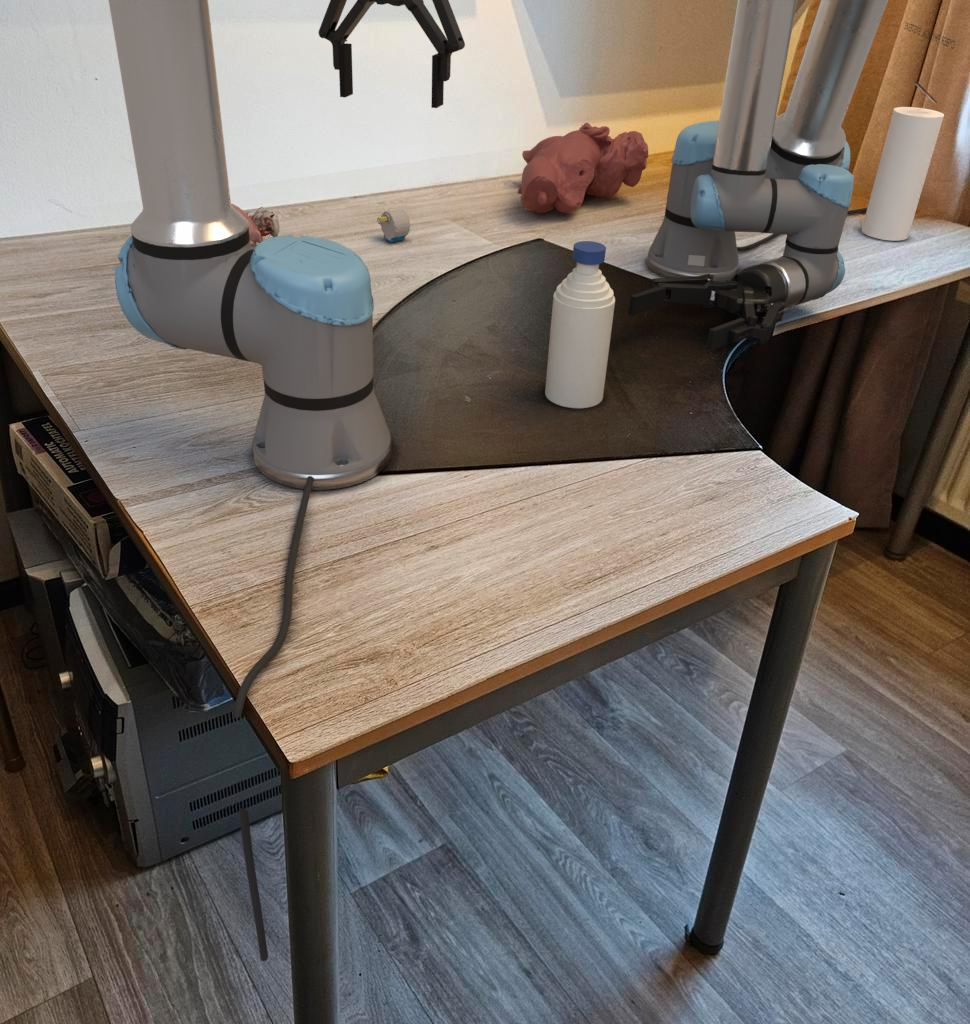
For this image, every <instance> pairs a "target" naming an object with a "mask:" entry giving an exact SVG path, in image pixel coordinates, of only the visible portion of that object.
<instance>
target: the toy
mask: <svg viewBox="0 0 970 1024" xmlns="http://www.w3.org/2000/svg"><path fill="white" fill-rule="evenodd" d="M231 205H232V206H233V207H234V208H235V209H236V210H237V211H238V212H240V213H241V214H242V215H243V216H244V217H246V219H247V220H248V226H249V236H250V244H251V247H252V248H255V247H256V246H257V245H258V244H259V243H261V242H262V241H264V237H267V236H269V235H270V236H272V237H277V236H279V234H280V231H281V225H280V221H279V218H278V217H274V216H276V215H275V213H274V212H273V211H269V210H268V209H265V208H264V207H263V206H261V207H259V208H258V209H257V210H256V211H255V212H254V214H251V215H249V211H246V212H245V210H243V209H242V208H240V207H239V205H235V204H233V203H231ZM257 243H258V244H257Z"/></svg>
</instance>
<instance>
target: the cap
mask: <svg viewBox="0 0 970 1024" xmlns="http://www.w3.org/2000/svg"><path fill="white" fill-rule="evenodd" d="M606 250H607V247H606V245H605V244H603V243H601V242H597V241H592V240H591V241H590V240H583V241H577V242H575V243H574V244H573V247H572V260H573V261H574V262H576V263H577V262H578V263H581V264H585V265H598V264H599V265H601V264H603V263H604V262H605V259H606V253H607V251H606Z"/></svg>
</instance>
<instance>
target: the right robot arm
mask: <svg viewBox="0 0 970 1024" xmlns="http://www.w3.org/2000/svg"><path fill="white" fill-rule="evenodd" d="M888 3H889V0H820V2H819V5H818V8H817V12H816V14H815V17H814V21H813V24H812V27H811V31H810V33H809V37H808V40H807V42H806V46H805V48H804V49H805V50H804V52H803V55H802V59H801V61H800V65H799V68H798V71H797V74H796V77H795V80H794V83H793V87H792V90H791V93H790V96H789V100H788V102H787V105H786V107H785V108H786V109H785V112H783V113H781V114H779V115H778V114H777V113H778V109H779V103H780V97H781V92H782V86H783V81H784V76H785V72H786V71H785V70H786V64H787V59H788V53H789V48H790V43H791V38H792V32H793V28H794V27H793V26H794V20H795V15H796V11H797V5H798V0H737V5H736V9H735V17H734V24H733V30H732V36H731V42H730V49H729V55H728V62H727V67H726V74H725V75H726V76H725V80H724V81H725V82H724V88H723V95H722V100H721V107H720V112H719V113H720V114H719V119H718V120H709V121H702V122H697V123H693V124H690V125H688V126H686V127H684V128H683V129H682V130H681V131H680V132H679V134H678V135H677V137H676V141H675V144H674V145H675V146H674V149H673V154H672V157H671V169H670V177H669V182H668V183H669V184H668V191H667V198H666V203H665V210H664V216H663V220H662V222H661V224H660V226H659V229H658V231H657V232H656V235H655V236H654V239H653V240H652V243H651V245H650V247H649V249H648V252H647V258H646V265H647V267H648V269H650V270H651V272H653V273H655V274H657V275H659V276H662V277H654V278H651V281H650V288H649V289H646V290H643V291H642V292H637V293H635V294H632V295H630V297H629V298H630V299H629V305H628V306H629V307H628V313H627V315H629V316H630V317H633V316H637V315H640V314H644V313H647V312H650V311H652V310H656V309H659V308H662V307H664V304H667V303H668V304H686V305H703V306H704V308H706V309H721V310H722V311H727V312H728V313H731V314H738V317H739V318H735V319H734V320H731V321H728V322H726V323H723V324H720V325H718V326H715V327H712V328H709V330H708V335H707V339H706V341H707V342H706V346H705V350H708V351H710V352H711V351H713V350H714V351H715V350H716V349H719V348H722V347H724V346H727V345H730V344H732V343H739V342H741V341H744V340H746V341H752V340H754V339H756V340H757V343H759V344H762V345H764V344H765V345H766V344H767V343H768V341H769V339H770V337H771V336H772V333H773V330H774V328H775V326H776V325H777V324H778V323H781V322H782V321H783V318H784V313H785V310H787V309H791V308H793V307H796V306H799V305H802V304H805V303H807V302H811V301H815V300H818V299H821V298H823V297H824V296H826V295H827V294H829V293H831V292H833V291H834V290H836V289H837V288H838V287H839V286H840V285H841V284H842V282H843V280H844V277H845V273H846V267H845V261H844V257H843V255H842V253H841V252H840V251H839V245H840V242H841V238H842V234H843V231H844V226H845V223H846V220H847V216H848V215H854V214H859V213H866V211H867V208H868V206H866V207H862V208H857V209H855V208H854V209H851V210H850V207H851V200H852V196H853V191H854V183H855V178H854V175H853V174H852V173H851V172H850V171H849V169H850V164H851V149H850V144H849V143H848V141H847V136H846V132H845V130H844V128H843V127H842V124H843V123H844V122H843V121H844V119H845V116H846V114H847V111H848V109H849V106H850V103H851V100H852V98H853V95H854V93H855V90H856V87H857V84H858V81H859V80H860V77H861V74H862V72H863V69H864V65H865V63H866V61H867V58H868V55H869V53H870V50H871V48H872V45H873V42H874V39H875V37H876V35H877V34H876V33H877V32H878V29H879V26H880V23H881V21H882V18H883V15H884V12H885V10H886V8H887V5H888ZM736 232H737V233H760V234H770V235H767V237H764V238H762V239H759V240H757V241H755V242H754V243H753V242H752V243H750V244H748V245H744V246H738V245H737V239H736V237H737V236H736ZM780 235H786V237H785V246H784V249H783V254H782V255H781V256H779V257H776V258H773V259H770V260H766V261H763V262H760V263H758V264H755V265H751V266H748V267H746V268H742V269H740V270H739V269H738V268H739V253H738V252H745V251H749V250H752V249H754V248H756V247H759V246H761V245H763V244H765V243H767V242H769V241H772V240H773V239H775V238H777V237H778V236H780ZM738 270H739V271H738ZM713 292H714V296H713V297H714V298H713V301H711V299H712V293H713ZM762 319H763V320H762ZM758 320H759V321H760V320H762V322H761V324H757V321H758Z"/></svg>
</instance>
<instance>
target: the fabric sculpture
mask: <svg viewBox="0 0 970 1024" xmlns="http://www.w3.org/2000/svg"><path fill="white" fill-rule="evenodd" d="M610 130H611V129H610V127H608V126H607V125H605V126H604V125H602V126H600V127H598V126H592V125H591V124H590V123H589V122H585V123H584V124H581V126H580V127H579V129H576V130H573V131H570V132H568V133H566V134H565V135H554V136H549V137H546V138H544V139H542V140H540V141H539V142H538V143H536V145H535V146H534V147H532V148H531V149H529V150H523V151H522V153H521V156H522V158H523V160H524V162H525V163H526V164H525V166H524V168H523V170H522V172H521V173H522V174H521V180H520V181H521V182H520V185H519V186H518V189H517V194H518V195H520V200H521V202H522V203H523V207H524V209H525V210H529V211H530V212H532V213H535V214H546V213H549V212H551V211H552V210H553V209H554V208H555V209H556V210H557V211H559V212H560V213H564V214H569V213H573V212H575V211H578V209H579V208H581V206H582V203H584V199H585V195H591V196H593V197H596V198H599V197H604V198H606V197H608V198H610V197H613V196H614V195H617V194H618V192H619V191H620V189H621V186H622V184H624V185H625V186H627V187H631V188H635V187H636V186H637V185H638V184H639V183H640V181H641V178H642V174H643V171H645V170H646V169H647V164H648V161H647V160H648V157H649V146H648V143H647V142H646V141H645V139H644V135H643V134H642V132H638V131H636V130H631V131H628V132H627V131H624V132H621V133H618V135H617V136H615V137H614V138H612V137H611V136H610V135H609V134H610Z"/></svg>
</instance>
